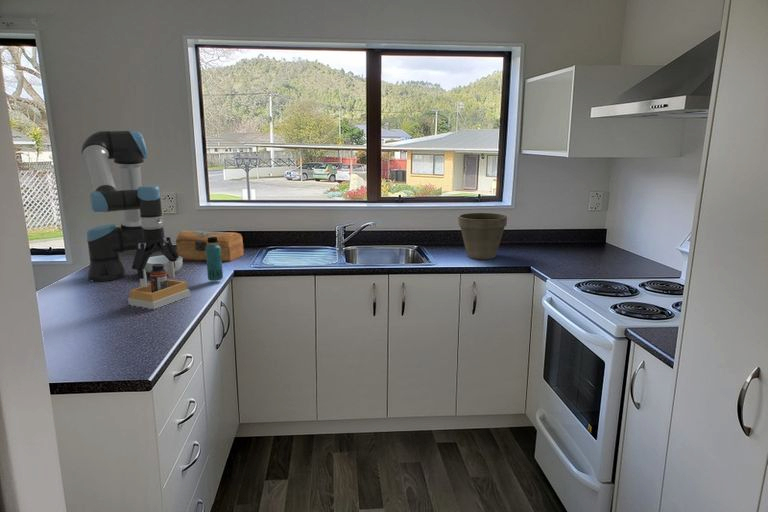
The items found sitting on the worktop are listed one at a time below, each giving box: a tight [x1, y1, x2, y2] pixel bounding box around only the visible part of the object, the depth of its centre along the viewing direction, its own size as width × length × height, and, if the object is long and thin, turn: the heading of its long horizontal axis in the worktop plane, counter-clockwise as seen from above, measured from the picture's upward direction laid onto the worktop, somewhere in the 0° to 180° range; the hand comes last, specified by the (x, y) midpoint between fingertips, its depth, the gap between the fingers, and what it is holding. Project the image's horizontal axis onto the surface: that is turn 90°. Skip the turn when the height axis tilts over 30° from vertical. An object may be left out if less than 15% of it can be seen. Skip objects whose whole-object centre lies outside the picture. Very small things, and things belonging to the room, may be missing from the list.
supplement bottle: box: [149, 264, 168, 293], centre depth 199 cm, size 6×6×11 cm
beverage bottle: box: [206, 237, 224, 282], centre depth 224 cm, size 6×7×20 cm
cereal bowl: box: [144, 254, 183, 276], centre depth 239 cm, size 17×17×7 cm
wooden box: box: [175, 230, 244, 263], centre depth 269 cm, size 30×16×14 cm, turn 77°
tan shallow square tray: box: [127, 278, 191, 309], centre depth 201 cm, size 18×18×6 cm
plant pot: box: [457, 212, 508, 260], centre depth 269 cm, size 25×25×22 cm
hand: (158, 281), depth 199 cm, fingers open, 13 cm apart
